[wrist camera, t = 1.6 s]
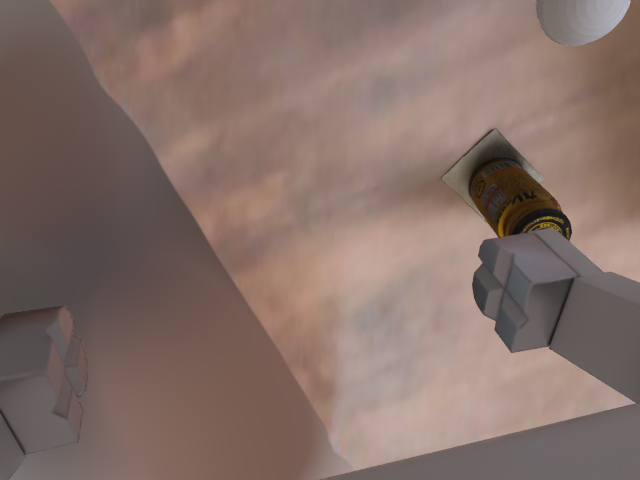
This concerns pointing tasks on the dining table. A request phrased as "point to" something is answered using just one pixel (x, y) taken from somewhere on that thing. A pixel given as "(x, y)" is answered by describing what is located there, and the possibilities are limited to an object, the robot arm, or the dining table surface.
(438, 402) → the dining table surface
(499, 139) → the condiment
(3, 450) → the robot arm
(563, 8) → the lollipop
